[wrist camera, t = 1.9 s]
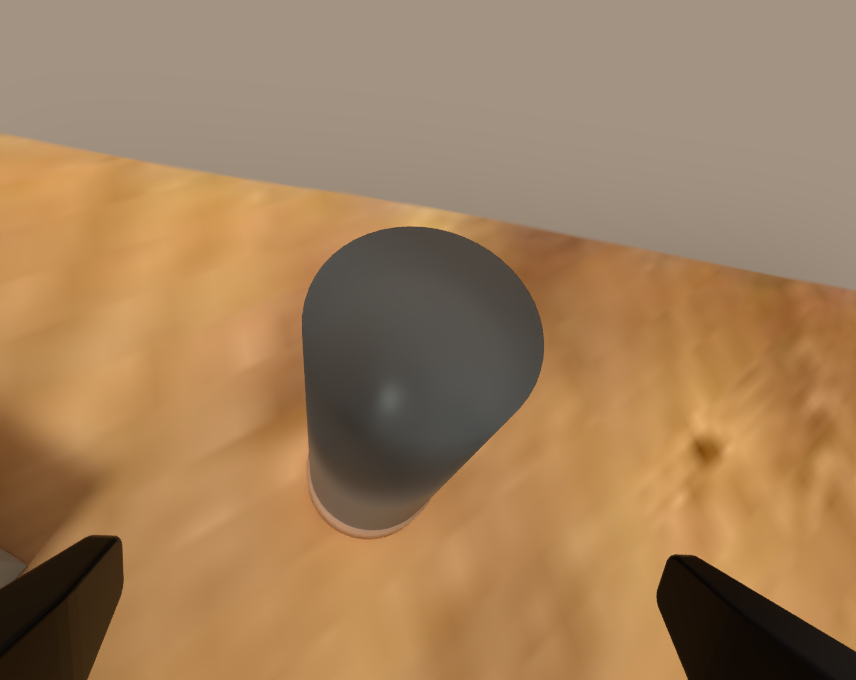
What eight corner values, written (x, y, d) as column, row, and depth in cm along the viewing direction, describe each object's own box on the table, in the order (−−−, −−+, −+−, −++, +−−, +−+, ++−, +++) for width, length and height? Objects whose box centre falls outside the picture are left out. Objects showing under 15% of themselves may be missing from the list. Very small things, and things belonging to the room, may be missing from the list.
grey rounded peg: (449, 453, 21) (581, 295, 10) (393, 564, 19) (488, 502, 8) (350, 395, 21) (381, 187, 11) (282, 497, 19) (238, 358, 9)
